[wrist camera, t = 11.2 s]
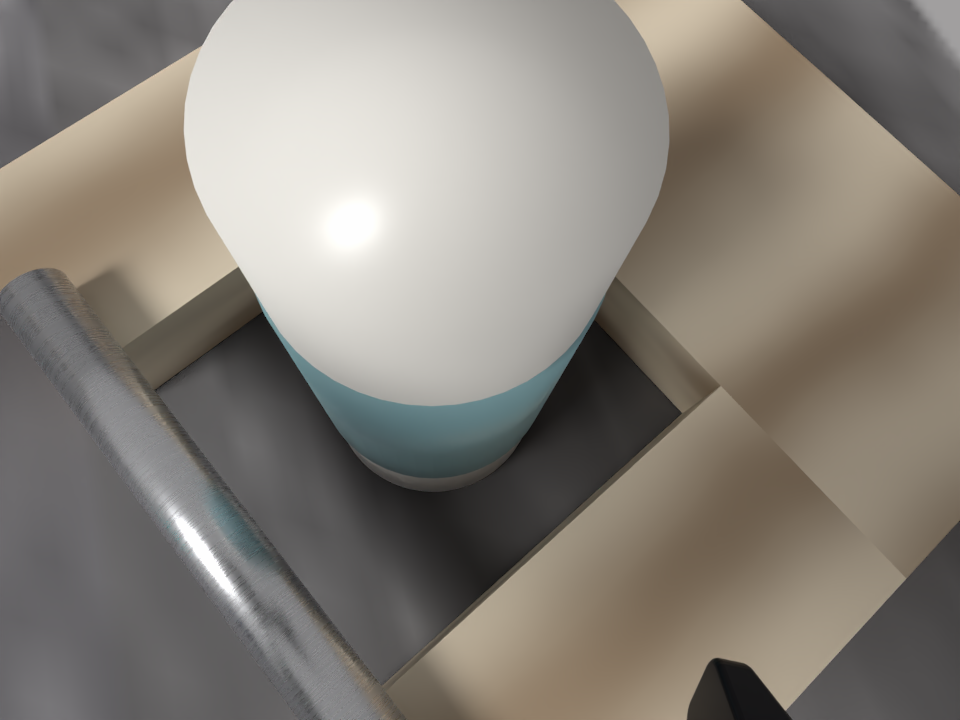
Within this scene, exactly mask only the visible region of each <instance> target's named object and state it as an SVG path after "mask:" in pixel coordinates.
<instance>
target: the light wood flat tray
mask: <svg viewBox="0 0 960 720" xmlns="http://www.w3.org/2000/svg"><path fill="white" fill-rule="evenodd" d="M614 1H615V2H616V3H617V4H618V5H619V6H620V8H621V9H622V10H623V11H624V12H625V13H626V14H627V16H628V17H629V18H630V20H631V21H632V23H633V24H634V26H635V27H636V29H637V30H638V32H639V33H640V35H641V36H642V38H643V39H644V41H645V43H646V45H647V47H648V49H649V51H650V53H651V55H652V57H653V59H654V61H655V63H656V66H657V69H658V72H659V75H660V78H661V81H662V84H663V87H664V92H665V97H666V103H667V109H668V114H669V149H668V157H667V165H666V171H665V175H664V178H663V182H662V185H661V189H660V192H659V196H658V198H657V200H656V202H655V205H654V207H653V209H652V211H651V213H650V216H649V218H648V220H647V222H646V224H645V226H644V227H643V229H642V231H641V233H640V234H639V236H638V238H637V239H636V241H635V243H634V245H633V246H632V248H631V250H630V252H629V253H628V255H627V257H626V259H625V260H624V262H623V264H622V265H621V267H620V269H619V271H618V272H617V274H616V276H615V278H614V279H613V281H612V283H611V285H610V286H609V288H608V290H607V291H606V294H605V298H604V300H603V302H602V304H601V306H600V308H599V311H598V313H597V315H596V317H595V319H594V320H595V321H596V322H597V323H598V324H599V325H600V326H601V327H602V328H603V329H604V331H605V332H606V333H607V334H608V335H609V336H610V337H611V338H612V339H613V340H614V341H615V342H616V343H617V344H618V345H619V346H620V348H621V349H622V350H623V351H624V352H625V353H626V354H627V355H628V356H629V357H630V358H631V359H632V360H633V361H634V362H635V363H636V365H637V366H638V367H639V368H640V369H641V370H642V371H643V372H644V373H645V374H646V375H647V376H648V377H649V378H650V379H651V381H652V382H653V383H654V384H655V385H656V386H657V387H658V388H659V389H660V390H661V391H662V392H663V393H664V394H665V395H666V396H667V398H668V399H669V400H670V401H671V402H672V403H673V404H674V405H675V406H676V407H677V408H678V409H679V410H680V411H681V412H682V414H681V415H680V416H679V417H678V418H676V419H675V420H674V421H673V422H672V423H671V424H670V425H669V426H668V427H667V428H665V429H664V430H663V431H662V432H661V433H660V434H659V435H658V436H657V437H656V438H654V439H653V440H652V441H651V442H650V443H649V444H648V445H647V446H646V447H645V448H643V449H642V450H641V451H640V452H639V453H638V454H637V455H636V456H635V457H633V458H632V459H631V460H630V461H629V462H628V463H627V464H626V465H625V466H624V467H622V468H621V469H620V470H619V471H618V472H617V473H616V474H615V475H614V476H613V477H611V478H610V479H609V480H608V481H607V482H606V483H605V484H604V485H603V486H602V487H600V488H599V489H598V490H597V491H596V492H595V493H594V494H593V495H592V496H590V497H589V498H588V499H587V500H586V501H585V502H584V503H583V504H582V505H581V506H579V507H578V508H577V509H576V510H575V511H574V512H573V513H572V514H571V515H570V516H568V517H567V518H566V519H565V520H564V521H563V522H562V523H561V524H560V525H559V526H557V527H556V528H555V529H554V530H553V531H552V532H551V533H550V534H549V535H548V536H546V537H545V538H544V539H543V540H542V541H541V542H540V543H539V544H538V545H536V546H535V547H534V548H533V549H532V550H531V551H530V552H529V553H528V554H527V555H525V556H524V557H523V558H522V559H521V560H520V561H519V562H518V563H517V564H516V565H514V566H513V567H512V568H511V569H510V570H509V571H508V572H507V573H506V574H505V575H503V576H502V577H501V578H500V579H499V580H498V581H497V582H496V583H495V584H494V585H492V586H491V587H490V588H489V589H488V590H487V591H486V592H485V593H484V594H482V595H481V596H480V597H479V598H478V599H477V600H476V601H475V602H474V603H473V604H471V605H470V606H469V607H468V608H467V609H466V610H465V611H464V612H463V613H462V614H460V615H459V616H458V617H457V618H456V619H455V620H454V621H453V622H452V623H451V624H449V625H448V626H447V627H446V628H445V629H444V630H443V631H442V632H441V633H439V634H438V635H437V636H436V637H435V638H434V639H433V640H432V641H431V642H430V643H428V644H427V645H426V646H425V647H424V648H423V649H422V650H421V651H420V652H419V653H417V654H416V655H415V656H414V657H413V658H412V659H411V660H410V661H409V662H408V663H406V664H405V665H404V666H403V667H402V668H401V669H400V670H399V671H398V672H397V673H395V674H394V675H393V676H392V677H391V678H390V679H389V680H388V681H387V682H385V683H384V684H383V685H382V688H383V689H384V690H385V691H386V693H387V694H388V695H389V697H390V698H391V699H392V701H393V702H394V703H395V704H396V706H397V707H398V708H399V710H400V711H401V712H402V714H403V715H404V716H405V718H406V719H407V720H687V712H688V707H689V704H690V701H691V699H692V697H693V694H694V692H695V690H696V688H697V686H698V684H699V681H700V679H701V677H702V675H703V673H704V670H705V668H706V666H707V664H708V663H709V661H711V660H712V659H713V658H722V659H727V660H732V661H736V662H741V663H745V664H747V665H748V666H749V667H751V668H752V669H753V670H754V672H755V673H756V674H757V675H758V677H759V678H760V679H761V680H762V682H763V683H764V684H765V686H766V687H767V688H768V689H769V691H770V692H771V693H772V694H773V696H774V697H775V698H776V700H777V701H778V702H779V703H780V705H781V706H782V707H783V708H784V710H785V711H786V710H787V709H788V707H789V706H790V705H791V704H792V703H793V702H794V701H795V700H796V699H797V698H798V696H799V695H800V694H801V693H802V692H803V691H804V690H805V689H806V688H807V687H808V686H809V684H810V683H811V682H812V681H813V680H814V679H815V678H816V677H817V676H818V675H819V674H820V672H821V671H822V670H823V669H824V668H825V667H826V666H827V665H828V664H829V663H830V662H831V660H832V659H833V658H834V657H835V656H836V655H837V654H838V653H839V652H840V651H841V650H842V648H843V647H844V646H845V645H846V644H847V643H848V642H849V641H850V640H851V639H852V637H853V636H854V635H855V634H856V633H857V632H858V631H859V630H860V629H861V628H862V627H863V625H864V624H865V623H866V622H867V621H868V620H869V619H870V618H871V617H872V616H873V615H874V613H875V612H876V611H877V610H878V609H879V608H880V607H881V606H882V605H883V604H884V603H885V601H886V600H887V599H888V598H889V597H890V596H891V595H892V594H893V593H894V592H895V591H896V589H897V588H898V587H899V586H900V585H901V584H902V583H903V582H904V581H905V580H906V578H907V577H908V576H909V575H910V574H911V573H912V572H913V571H914V570H915V569H916V568H917V566H918V565H919V564H920V563H921V562H922V561H923V560H924V559H925V558H926V557H927V556H928V554H929V553H930V552H931V551H932V550H933V549H934V548H935V547H936V546H937V545H938V544H939V542H940V541H941V540H942V539H943V538H944V537H945V536H946V535H947V534H948V533H949V532H950V530H951V529H952V528H953V527H954V526H955V525H956V524H957V523H958V522H959V521H960V196H959V195H958V194H957V193H956V192H955V191H954V190H953V189H951V188H950V187H949V186H948V185H947V184H946V183H945V182H944V181H942V180H941V179H940V178H939V177H938V176H937V175H936V174H935V173H934V172H932V171H931V170H930V169H929V168H928V167H927V166H926V165H925V164H923V163H922V162H921V161H920V160H919V159H918V158H917V157H916V156H915V155H913V154H912V153H911V152H910V151H909V150H908V149H907V148H906V147H904V146H903V145H902V144H901V143H900V142H899V141H898V140H897V139H896V138H894V137H893V136H892V135H891V134H890V133H889V132H888V131H887V130H885V129H884V128H883V127H882V126H881V125H880V124H879V123H878V122H877V121H875V120H874V119H873V118H872V117H871V116H870V115H869V114H868V113H866V112H865V111H864V110H863V109H862V108H861V107H860V106H859V105H858V104H856V103H855V102H854V101H853V100H852V99H851V98H850V97H849V96H847V95H846V94H845V93H844V92H843V91H842V90H841V89H840V88H838V87H837V86H836V85H835V84H834V83H833V82H832V81H831V80H830V79H828V78H827V77H826V76H825V75H824V74H823V73H822V72H821V71H819V70H818V69H817V68H816V67H815V66H814V65H813V64H812V63H811V62H809V61H808V60H807V59H806V58H805V57H804V56H803V55H802V54H800V53H799V52H798V51H797V50H796V49H795V48H794V47H793V46H792V45H790V44H789V43H788V42H787V41H786V40H785V39H784V38H783V37H781V36H780V35H779V34H778V33H777V32H776V31H775V30H774V29H773V28H771V27H770V26H769V25H768V24H767V23H766V22H765V21H764V20H762V19H761V18H760V17H759V16H758V15H757V14H756V13H755V12H754V11H752V10H751V9H750V8H749V7H748V6H747V5H746V4H745V3H743V2H742V1H741V0H614ZM201 48H202V46H201V47H199V48H198V49H196V50H194V51H193V52H191V53H189V54H188V55H186V56H185V57H183V58H181V59H180V60H178V61H176V62H175V63H173V64H171V65H170V66H168V67H166V68H165V69H163V70H162V71H160V72H158V73H157V74H155V75H153V76H152V77H150V78H148V79H147V80H145V81H144V82H142V83H140V84H139V85H137V86H135V87H134V88H132V89H130V90H129V91H127V92H125V93H124V94H122V95H121V96H119V97H117V98H116V99H114V100H112V101H111V102H109V103H107V104H106V105H104V106H102V107H101V108H99V109H98V110H96V111H94V112H93V113H91V114H89V115H88V116H86V117H84V118H83V119H81V120H80V121H78V122H76V123H75V124H73V125H71V126H70V127H68V128H66V129H65V130H63V131H61V132H60V133H58V134H57V135H55V136H53V137H52V138H50V139H48V140H47V141H45V142H43V143H42V144H40V145H38V146H37V147H35V148H34V149H32V150H30V151H29V152H27V153H25V154H24V155H22V156H20V157H19V158H17V159H15V160H14V161H12V162H11V163H9V164H7V165H6V166H4V167H2V168H1V169H0V291H1V290H2V289H3V288H4V287H5V286H6V285H7V284H8V283H9V282H10V281H12V280H13V279H15V278H16V277H18V276H20V275H22V274H24V273H27V272H29V271H32V270H36V269H41V268H55V269H59V270H61V271H63V272H64V273H65V274H66V275H67V277H68V278H69V279H70V281H71V282H72V283H73V285H74V286H75V287H76V288H77V290H78V291H79V292H80V294H81V295H82V296H83V298H84V299H85V300H86V301H87V303H88V304H89V305H90V307H91V308H92V309H93V311H94V312H95V313H96V315H97V316H98V317H99V318H100V320H101V321H102V322H103V324H104V325H105V326H106V328H107V329H108V330H109V331H110V333H111V334H112V335H113V337H114V338H115V339H116V341H117V342H118V343H119V345H120V346H121V347H122V348H123V350H124V351H125V352H126V354H127V355H128V356H129V358H130V359H131V360H132V361H133V363H134V364H135V365H136V367H137V368H138V369H139V371H140V372H141V373H142V375H143V376H144V377H145V378H146V380H147V381H148V382H149V384H150V385H151V386H152V388H153V389H154V390H155V389H157V388H158V387H159V386H161V385H162V384H163V383H165V382H166V381H168V380H169V379H170V378H172V377H173V376H175V375H176V374H177V373H179V372H180V371H181V370H183V369H184V368H186V367H187V366H188V365H190V364H191V363H192V362H194V361H195V360H197V359H198V358H199V357H201V356H202V355H204V354H205V353H206V352H208V351H209V350H210V349H212V348H213V347H215V346H216V345H217V344H219V343H220V342H221V341H223V340H224V339H226V338H227V337H228V336H230V335H231V334H233V333H234V332H235V331H237V330H238V329H239V328H241V327H242V326H244V325H245V324H246V323H248V322H249V321H250V320H252V319H253V318H255V317H256V316H257V315H259V314H260V313H262V312H263V310H262V308H261V306H260V304H259V302H258V299H257V297H256V295H255V292H254V291H253V289H252V287H251V286H250V284H249V282H248V281H247V279H246V278H245V276H244V274H243V273H242V271H241V270H240V268H239V266H238V265H237V263H236V261H235V260H234V258H233V257H232V255H231V253H230V252H229V250H228V249H227V247H226V245H225V244H224V242H223V240H222V239H221V237H220V236H219V234H218V232H217V231H216V229H215V228H214V226H213V224H212V223H211V221H210V219H209V218H208V216H207V215H206V212H205V210H204V208H203V206H202V203H201V201H200V199H199V197H198V194H197V192H196V190H195V188H194V184H193V180H192V177H191V173H190V170H189V166H188V162H187V157H186V148H185V139H184V112H185V101H186V96H187V91H188V86H189V81H190V76H191V74H192V71H193V68H194V65H195V63H196V60H197V57H198V54H199V52H200V50H201Z"/></svg>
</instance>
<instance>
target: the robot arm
mask: <svg viewBox="0 0 960 720" xmlns="http://www.w3.org/2000/svg"><path fill="white" fill-rule="evenodd" d="M687 720H792V719H791V717H790V716H789V715H788V714H787V712H786V711H785V710H784V708H783V707H782V706H781V705H780V703H779V702H778V701H777V700H776V698H775V697H774V696H773V694H772V693H771V692H770V691H769V689H768V688H767V687H766V686H765V684H764V683H763V682H762V680H761V679H760V678H759V677H758V675H757V674H756V673H755V672H754V670H753V669H752V668H751V667H749V666H748V665H747V664H745V663H741V662H736V661H732V660H727V659H722V658H713V659H712V660H711V661H709V663H708V664H707V666H706V668H705V670H704V673H703V675H702V677H701V679H700V681H699V684H698V686H697V688H696V690H695V692H694V694H693V697H692V699H691V701H690V704H689V707H688V712H687Z"/></svg>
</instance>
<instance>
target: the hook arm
mask: <svg viewBox="0 0 960 720" xmlns="http://www.w3.org/2000/svg"><path fill="white" fill-rule="evenodd" d="M0 313H1V314H2V316H3V317H4V319H5V320H6V321H7V323H8V324H9V325H10V327H11V328H12V329H13V331H14V332H15V334H16V335H17V336H18V338H19V339H20V340H21V342H22V343H23V344H24V346H25V347H26V349H27V350H28V351H29V353H30V354H31V355H32V357H33V358H34V359H35V361H36V362H37V364H38V365H39V366H40V368H41V369H42V370H43V372H44V373H45V374H46V376H47V377H48V379H49V380H50V381H51V383H52V384H53V385H54V387H55V388H56V389H57V391H58V392H59V394H60V395H61V396H62V398H63V399H64V400H65V402H66V403H67V405H68V406H69V407H70V409H71V410H72V411H73V413H74V414H75V415H76V417H77V418H78V420H79V421H80V422H81V424H82V425H83V426H84V428H85V429H86V430H87V432H88V433H89V435H90V436H91V437H92V439H93V440H94V441H95V443H96V444H97V445H98V447H99V448H100V450H101V451H102V452H103V454H104V455H105V456H106V458H107V459H108V460H109V462H110V463H111V465H112V466H113V467H114V469H115V470H116V471H117V473H118V474H119V475H120V477H121V478H122V480H123V481H124V482H125V484H126V485H127V486H128V488H129V489H130V490H131V492H132V493H133V495H134V496H135V497H136V499H137V500H138V501H139V503H140V504H141V505H142V507H143V508H144V510H145V511H146V512H147V514H148V515H149V516H150V518H151V519H152V520H153V522H154V523H155V525H156V526H157V527H158V529H159V530H160V531H161V533H162V534H163V535H164V537H165V538H166V540H167V541H168V542H169V544H170V545H171V546H172V548H173V549H174V550H175V552H176V553H177V555H178V556H179V557H180V559H181V560H182V561H183V563H184V564H185V565H186V567H187V568H188V570H189V571H190V572H191V574H192V575H193V576H194V578H195V579H196V580H197V582H198V583H199V585H200V586H201V587H202V589H203V590H204V591H205V593H206V594H207V595H208V597H209V598H210V600H211V601H212V602H213V604H214V605H215V606H216V608H217V609H218V610H219V612H220V613H221V615H222V616H223V617H224V619H225V620H226V621H227V623H228V624H229V625H230V627H231V628H232V630H233V631H234V632H235V634H236V635H237V636H238V638H239V639H240V640H241V642H242V643H243V645H244V646H245V647H246V649H247V650H248V651H249V653H250V654H251V655H252V657H253V658H254V660H255V661H256V662H257V664H258V665H259V666H260V668H261V669H262V670H263V672H264V673H265V675H266V676H267V677H268V679H269V680H270V681H271V683H272V684H273V685H274V687H275V688H276V690H277V691H278V692H279V694H280V695H281V696H282V698H283V699H284V700H285V702H286V703H287V705H288V706H289V707H290V709H291V710H292V711H293V713H294V714H295V715H296V717H297V718H298V720H407V719H406V718H405V716H404V715H403V714H402V712H401V711H400V710H399V708H398V707H397V706H396V704H395V703H394V702H393V701H392V699H391V698H390V697H389V695H388V694H387V693H386V691H385V690H384V689H383V688H382V686H381V685H380V684H379V682H378V681H377V680H376V678H375V677H374V676H373V674H372V673H371V672H370V671H369V669H368V668H367V667H366V665H365V664H364V663H363V661H362V660H361V659H360V658H359V656H358V655H357V654H356V652H355V651H354V650H353V648H352V647H351V646H350V644H349V643H348V642H347V641H346V639H345V638H344V637H343V635H342V634H341V633H340V631H339V630H338V629H337V628H336V626H335V625H334V624H333V622H332V621H331V620H330V618H329V617H328V616H327V614H326V613H325V612H324V611H323V609H322V608H321V607H320V605H319V604H318V603H317V601H316V600H315V599H314V598H313V596H312V595H311V594H310V592H309V591H308V590H307V588H306V587H305V586H304V584H303V583H302V582H301V581H300V579H299V578H298V577H297V575H296V574H295V573H294V571H293V570H292V569H291V568H290V566H289V565H288V564H287V562H286V561H285V560H284V558H283V557H282V556H281V554H280V553H279V552H278V551H277V549H276V548H275V547H274V545H273V544H272V543H271V541H270V540H269V539H268V538H267V536H266V535H265V534H264V532H263V531H262V530H261V528H260V527H259V526H258V524H257V523H256V522H255V521H254V519H253V518H252V517H251V515H250V514H249V513H248V511H247V510H246V509H245V508H244V506H243V505H242V504H241V502H240V501H239V500H238V498H237V497H236V496H235V495H234V493H233V492H232V491H231V489H230V488H229V487H228V485H227V484H226V483H225V481H224V480H223V479H222V478H221V476H220V475H219V474H218V472H217V471H216V470H215V468H214V467H213V466H212V465H211V463H210V462H209V461H208V459H207V458H206V457H205V455H204V454H203V453H202V451H201V450H200V449H199V448H198V446H197V445H196V444H195V442H194V441H193V440H192V438H191V437H190V436H189V435H188V433H187V432H186V431H185V429H184V428H183V427H182V425H181V424H180V423H179V421H178V420H177V419H176V418H175V416H174V415H173V414H172V412H171V411H170V410H169V408H168V407H167V406H166V405H165V403H164V402H163V401H162V399H161V398H160V397H159V395H158V394H157V393H156V391H155V390H154V389H153V388H152V386H151V385H150V384H149V382H148V381H147V380H146V378H145V377H144V376H143V375H142V373H141V372H140V371H139V369H138V368H137V367H136V365H135V364H134V363H133V361H132V360H131V359H130V358H129V356H128V355H127V354H126V352H125V351H124V350H123V348H122V347H121V346H120V345H119V343H118V342H117V341H116V339H115V338H114V337H113V335H112V334H111V333H110V331H109V330H108V329H107V328H106V326H105V325H104V324H103V322H102V321H101V320H100V318H99V317H98V316H97V315H96V313H95V312H94V311H93V309H92V308H91V307H90V305H89V304H88V303H87V301H86V300H85V299H84V298H83V296H82V295H81V294H80V292H79V291H78V290H77V288H76V287H75V286H74V285H73V283H72V282H71V281H70V279H69V278H68V277H67V275H66V274H65V273H64V272H63V271H61V270H59V269H55V268H41V269H36V270H32V271H29V272H27V273H24V274H22V275H20V276H18V277H16V278H15V279H13V280H12V281H10V282H9V283H8V284H7V285H6V286H5V287H4V288H3V289H2V290H1V291H0Z"/></svg>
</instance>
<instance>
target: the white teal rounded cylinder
mask: <svg viewBox="0 0 960 720" xmlns="http://www.w3.org/2000/svg"><path fill="white" fill-rule="evenodd" d="M184 139H185V148H186V157H187V162H188V166H189V170H190V173H191V177H192V180H193V184H194V188H195V190H196V192H197V194H198V197H199V199H200V201H201V203H202V206H203V208H204V210H205V212H206V215H207V216H208V218H209V219H210V221H211V223H212V224H213V226H214V228H215V229H216V231H217V232H218V234H219V236H220V237H221V239H222V240H223V242H224V244H225V245H226V247H227V249H228V250H229V252H230V253H231V255H232V257H233V258H234V260H235V261H236V263H237V265H238V266H239V268H240V270H241V271H242V273H243V274H244V276H245V278H246V279H247V281H248V282H249V284H250V286H251V287H252V289H253V291H254V292H255V295H256V297H257V299H258V302H259V304H260V306H261V308H262V310H263V313H264V315H265V317H266V318H267V320H268V321H269V323H270V324H271V326H272V328H273V329H274V331H275V332H276V334H277V335H278V337H279V339H280V340H281V342H282V343H283V345H284V347H285V348H286V350H287V351H288V353H289V354H290V356H291V358H292V359H293V361H294V362H295V364H296V365H297V367H298V369H299V370H300V372H301V373H302V375H303V376H304V378H305V380H306V381H307V383H308V384H309V386H310V388H311V389H312V391H313V392H314V394H315V395H316V397H317V399H318V400H319V402H320V403H321V405H322V406H323V408H324V410H325V411H326V413H327V414H328V416H329V417H330V419H331V421H332V422H333V424H334V425H335V427H336V428H337V430H338V432H339V433H340V434H341V435H342V436H343V438H344V439H345V440H346V441H347V442H348V444H349V445H350V447H351V449H352V450H353V452H354V453H355V454H356V456H357V457H358V458H359V459H360V460H361V461H362V463H364V464H365V465H366V466H367V467H368V468H369V469H370V470H371V471H373V472H374V473H376V474H377V475H379V476H380V477H382V478H383V479H385V480H387V481H389V482H391V483H393V484H395V485H398V486H401V487H404V488H407V489H412V490H417V491H425V492H441V491H450V490H455V489H460V488H463V487H466V486H468V485H471V484H474V483H476V482H478V481H480V480H482V479H484V478H485V477H487V476H488V475H490V474H491V473H493V472H494V471H495V470H497V469H498V468H499V467H500V466H501V465H502V464H503V463H504V462H505V461H506V460H507V459H508V458H509V457H510V455H511V454H512V453H513V452H514V450H515V449H516V447H517V445H518V444H519V442H520V441H521V439H522V437H523V436H524V435H525V434H526V433H527V431H528V430H529V428H530V427H531V425H532V424H533V422H534V420H535V419H536V417H537V416H538V414H539V412H540V410H541V409H542V407H543V405H544V404H545V402H546V400H547V399H548V397H549V395H550V394H551V392H552V390H553V388H554V387H555V385H556V383H557V382H558V380H559V378H560V377H561V375H562V373H563V372H564V370H565V368H566V366H567V365H568V363H569V361H570V360H571V358H572V356H573V355H574V353H575V351H576V350H577V348H578V346H579V344H580V343H581V341H582V339H583V338H584V336H585V334H586V333H587V331H588V329H589V328H590V326H591V324H592V322H593V321H594V319H595V317H596V315H597V313H598V311H599V308H600V306H601V304H602V302H603V300H604V298H605V294H606V291H607V290H608V288H609V286H610V285H611V283H612V281H613V279H614V278H615V276H616V274H617V272H618V271H619V269H620V267H621V265H622V264H623V262H624V260H625V259H626V257H627V255H628V253H629V252H630V250H631V248H632V246H633V245H634V243H635V241H636V239H637V238H638V236H639V234H640V233H641V231H642V229H643V227H644V226H645V224H646V222H647V220H648V218H649V216H650V213H651V211H652V209H653V207H654V205H655V202H656V200H657V198H658V196H659V192H660V189H661V185H662V182H663V178H664V175H665V171H666V165H667V157H668V149H669V114H668V109H667V103H666V97H665V92H664V87H663V84H662V81H661V78H660V75H659V72H658V69H657V66H656V63H655V61H654V59H653V57H652V55H651V53H650V51H649V49H648V47H647V45H646V43H645V41H644V39H643V38H642V36H641V35H640V33H639V32H638V30H637V29H636V27H635V26H634V24H633V23H632V21H631V20H630V18H629V17H628V16H627V14H626V13H625V12H624V11H623V10H622V9H621V8H620V6H619V5H618V4H617V3H616V2H615V1H614V0H233V1H232V2H231V3H230V4H229V5H228V7H227V8H226V9H225V11H224V12H223V14H222V15H221V16H220V18H219V19H218V20H217V22H216V23H215V24H214V26H213V27H212V29H211V31H210V33H209V35H208V37H207V38H206V40H205V42H204V44H203V46H202V48H201V50H200V52H199V54H198V57H197V60H196V63H195V65H194V68H193V71H192V74H191V76H190V81H189V86H188V91H187V96H186V101H185V112H184Z"/></svg>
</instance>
